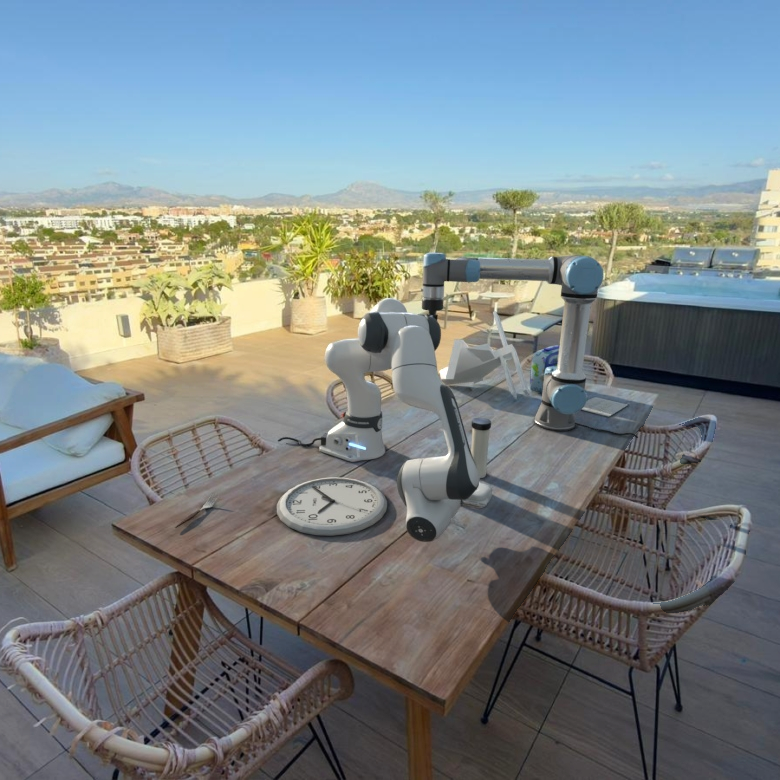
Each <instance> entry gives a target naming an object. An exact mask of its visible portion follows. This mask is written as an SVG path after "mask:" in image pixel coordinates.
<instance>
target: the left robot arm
mask: <svg viewBox="0 0 780 780" xmlns="http://www.w3.org/2000/svg"><path fill="white" fill-rule="evenodd" d="M441 339H442V328H441V325H440V323H439V322H438V319H437V320H436V319H435V318H433V317H430V316H427V314H419V313H418V314H417V313H410V312H408V311H407V307H406V306H405V305H404V304H403V303H402V302H401V301H400V300H398V299H396V298H392V297H388V298H387V297H386V298H384V299H381V300H380V301H378V302H377V304H376V305H375V304H374V306H373V307H372V308H371V310H370V311H369V312H366V313H365V314H364V315H363V316H362V317H361V318H360V321H359V324H358V327H357V338H347V339H346V338H345V339H341V340H337V341H333V342H330V343H329V344H328V345H327V346H326V349H325V351H324V362H325V366H326V367H327V368H328V370H329V371H330V372H331V373H333V374H334V375H336V376H337V377H338V378H339V379H340V380H341V382H342V383H343V385H344V388H345V392H346V402H347V409H346V410H345V411H343V413H341V414H340V419H342V421H340V422H339V423H337V424H336V425H334V426H333V427H332V428H330V429H329V431H328V432H324V433H323V435H321V436H320V437H316V438H313V440H311V442H309V443H302V441H301V440H299V439H296V438H294V437H289V436H283V437H280V438H279V439H277V442H281V441H283V440H290V441H293V442H296V443H298V444H299V446H302V447H309V446H312V445H314V443H315V442H317V441H320V445H319V449H318V451H319V452H320V453H324V454H327V455H330V456H332V457H335V458H339V459H340V460H341V459H342V460H344V461H347V462H351V463H355V462H360V461H366V460H367V461H368V460H374V459H378V458H380V457H383V456H384V455H385V454H386V448H385V444H384V440H383V431H382V429H383V411H382V390H381V389H380V387H379V386H378V385H377V384H375V383H374V382H372V381H370V380H367V379H366V378H365V374H366V373H373V372H384V371H388V370H391V382H392V388H393V391H394V394H395V395H396V397H397V398H398V400H400V401H401V402H403V403H404V404H405V405H408V406H411V407H414V408H417V409H421V410H426V411H429V412H432V413H433V414H436V416H437V417H438V418H439V420H440V423H441V427H442V430H443V434H444V438H445V439H444V440H445V442H446V443H445V444H446V447H447V451H448V452H447V454H446V455H441V456H432V457H421V458H414V459H413V458H412V459H407V460H405V462H403V464H402V465H401V467H400V469H399V471H398V474H397V477H396V488H397V492H398V495H399V498H400V499H401V501H402V503H403V504H404V506H405V507H406V517H405V529H406V531H407V533H408V534H409V536H410V537H411V538H413V539H414V540H416V541H418V542H423V543H430V542H434V541H436V540H437V539H439V538H440V537H441V536H442V535H443V534H444V532H445V531H446V530H447V528H448V526H449V525H450V523H451V522H452V519H454V517H455V516H456V514H457V513H458V511H459V509H460V508H461V506H463V507H464V506H465V507H470V508H474V509H483V508H484V507H487V506H488V504H489V502H490V500H492V495H493V487H492V486H491V484H488V483H483V482H481V481H480V480H481V478H479V475H478V471H477V467H476V464H475V462H474V459H473V456H472V454H471V447H470V445H469V441H468V437H467V433H466V430H465V426H464V422H463V419H462V415H461V411H460V409H459V405H458V402H457V399H456V396H455V394H454V392H453V390H452V389H451V387H450V386H449V385H445V384H444V382H443V381H442V380H441V377H440V374H439V371H438V363H437V357H436V350H437V349H438V348H439V346H440V344H441Z"/></svg>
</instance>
